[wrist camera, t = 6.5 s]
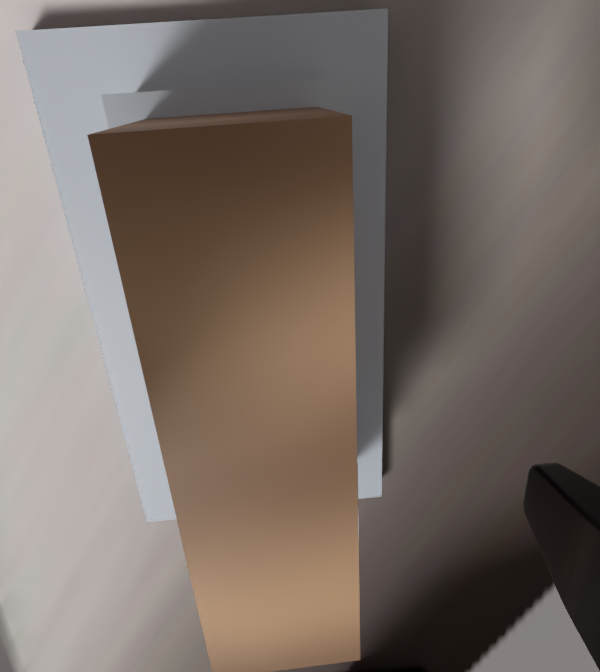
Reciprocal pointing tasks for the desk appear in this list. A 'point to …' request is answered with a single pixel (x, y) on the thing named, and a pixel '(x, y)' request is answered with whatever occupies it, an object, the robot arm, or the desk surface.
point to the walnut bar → (249, 365)
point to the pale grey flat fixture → (203, 99)
